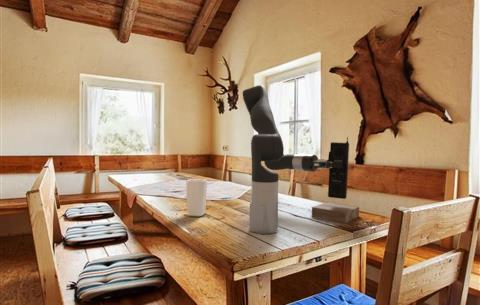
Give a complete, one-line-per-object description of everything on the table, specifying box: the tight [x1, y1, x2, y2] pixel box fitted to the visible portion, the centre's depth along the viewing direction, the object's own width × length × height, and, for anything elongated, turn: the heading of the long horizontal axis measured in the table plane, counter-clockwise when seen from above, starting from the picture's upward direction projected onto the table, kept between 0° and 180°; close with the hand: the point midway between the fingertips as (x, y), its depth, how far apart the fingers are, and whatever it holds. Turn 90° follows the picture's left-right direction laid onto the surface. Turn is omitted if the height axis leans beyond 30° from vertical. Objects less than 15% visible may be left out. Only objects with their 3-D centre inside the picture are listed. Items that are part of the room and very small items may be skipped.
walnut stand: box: [311, 201, 360, 224], centre depth 123 cm, size 14×14×4 cm
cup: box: [185, 178, 208, 218], centre depth 123 cm, size 7×7×15 cm
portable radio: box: [327, 136, 350, 200], centre depth 123 cm, size 8×6×25 cm
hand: (343, 165), depth 120 cm, fingers closed on portable radio
